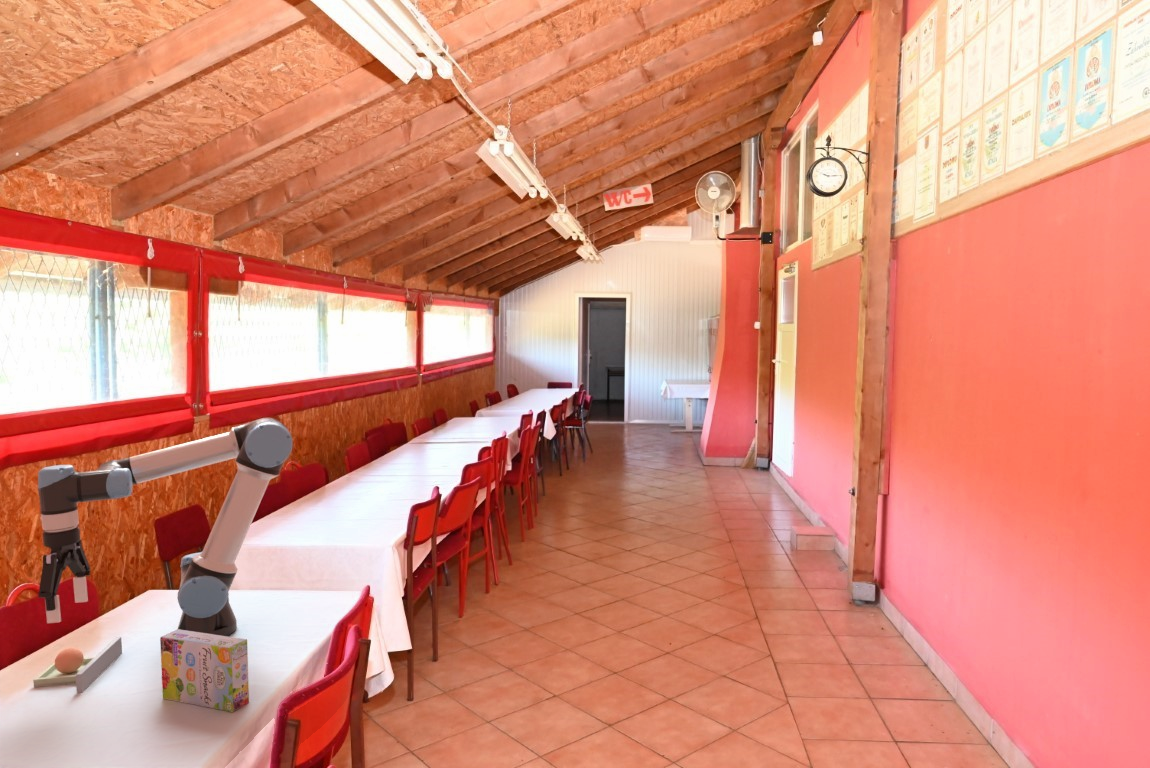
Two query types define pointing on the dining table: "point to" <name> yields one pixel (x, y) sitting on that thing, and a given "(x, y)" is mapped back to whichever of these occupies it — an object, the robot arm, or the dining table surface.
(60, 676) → the tray
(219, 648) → the snack box
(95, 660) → the divider wall
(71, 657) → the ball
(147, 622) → the dining table surface
